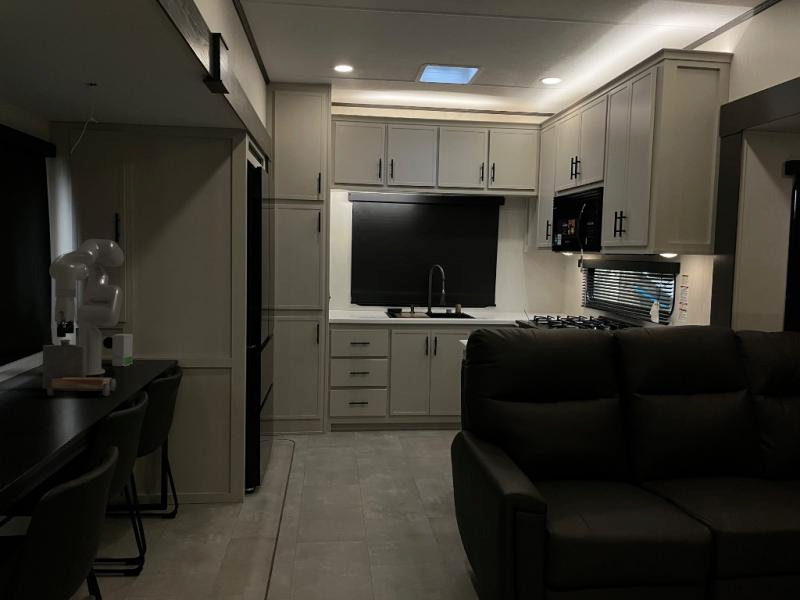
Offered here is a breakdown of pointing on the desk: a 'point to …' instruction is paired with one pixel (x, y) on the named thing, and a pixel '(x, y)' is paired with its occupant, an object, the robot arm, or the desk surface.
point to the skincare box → (122, 349)
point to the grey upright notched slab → (63, 361)
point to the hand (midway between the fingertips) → (65, 335)
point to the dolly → (82, 385)
